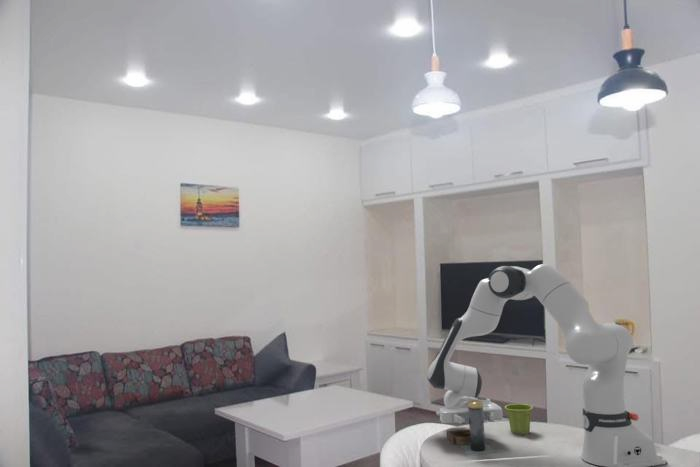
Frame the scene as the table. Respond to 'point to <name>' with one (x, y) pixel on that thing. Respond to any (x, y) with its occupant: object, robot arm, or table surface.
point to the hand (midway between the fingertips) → (477, 420)
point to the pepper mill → (476, 425)
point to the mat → (486, 451)
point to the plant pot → (519, 417)
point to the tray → (459, 436)
